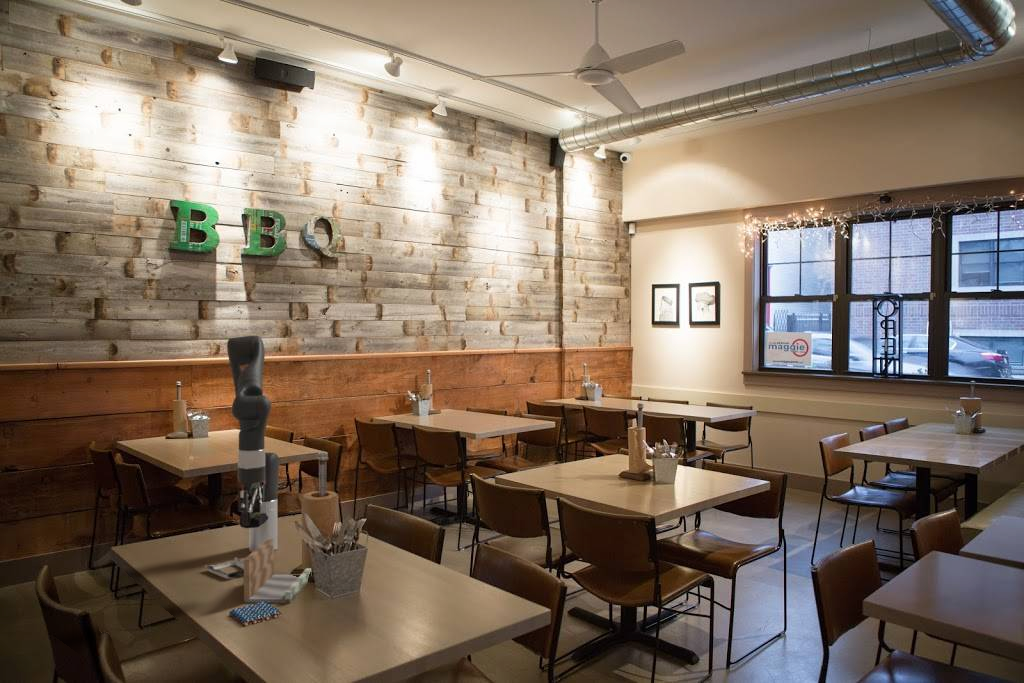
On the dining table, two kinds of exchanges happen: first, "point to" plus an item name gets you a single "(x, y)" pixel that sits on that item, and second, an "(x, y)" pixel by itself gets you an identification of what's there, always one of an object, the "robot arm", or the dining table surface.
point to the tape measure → (255, 520)
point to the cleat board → (269, 578)
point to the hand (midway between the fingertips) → (251, 521)
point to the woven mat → (255, 613)
